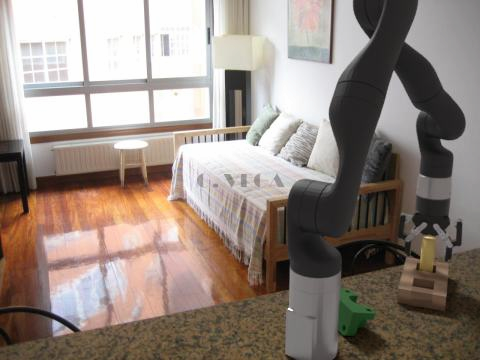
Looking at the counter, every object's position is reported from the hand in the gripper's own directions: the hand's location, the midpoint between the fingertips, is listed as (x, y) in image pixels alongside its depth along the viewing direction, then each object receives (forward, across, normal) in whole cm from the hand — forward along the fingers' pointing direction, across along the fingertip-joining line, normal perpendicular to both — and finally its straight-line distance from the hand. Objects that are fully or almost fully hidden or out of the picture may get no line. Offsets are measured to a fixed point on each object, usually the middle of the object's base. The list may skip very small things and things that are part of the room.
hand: (427, 257), depth 124 cm
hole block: (+6, 0, +4) cm, 8 cm away
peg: (+6, 0, 0) cm, 6 cm away
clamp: (+6, +14, +26) cm, 30 cm away
